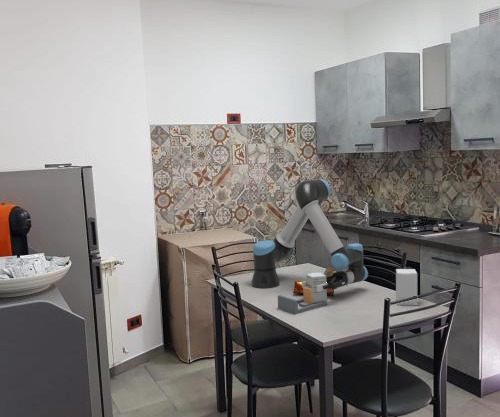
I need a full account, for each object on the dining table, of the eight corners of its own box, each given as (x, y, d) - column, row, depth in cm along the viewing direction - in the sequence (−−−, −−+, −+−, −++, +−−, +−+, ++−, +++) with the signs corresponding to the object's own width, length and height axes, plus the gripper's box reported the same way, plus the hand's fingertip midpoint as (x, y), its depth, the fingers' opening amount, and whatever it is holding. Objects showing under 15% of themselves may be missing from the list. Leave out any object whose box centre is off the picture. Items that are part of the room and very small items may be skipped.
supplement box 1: (306, 299, 248) (306, 273, 246) (321, 297, 250) (320, 272, 248) (312, 303, 241) (311, 276, 239) (327, 301, 242) (326, 275, 241)
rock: (343, 283, 269) (339, 276, 279) (333, 271, 267) (329, 264, 277) (326, 296, 270) (323, 288, 280) (316, 284, 268) (313, 277, 278)
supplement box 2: (417, 305, 235) (417, 273, 233) (397, 305, 236) (397, 273, 235) (415, 299, 243) (415, 268, 242) (395, 299, 245) (395, 268, 244)
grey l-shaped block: (278, 308, 239) (277, 295, 238) (308, 299, 250) (308, 287, 250) (295, 314, 229) (295, 301, 228) (326, 305, 241) (326, 292, 240)
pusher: (298, 305, 242) (297, 288, 241) (305, 303, 244) (305, 287, 243) (305, 308, 238) (305, 291, 237) (313, 305, 240) (312, 289, 239)
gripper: (360, 289, 247) (326, 299, 233) (326, 281, 264) (294, 290, 251) (359, 274, 246) (326, 283, 232) (326, 267, 263) (293, 275, 250)
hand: (309, 286), depth 242 cm, fingers closed on supplement box 1, 9 cm apart
